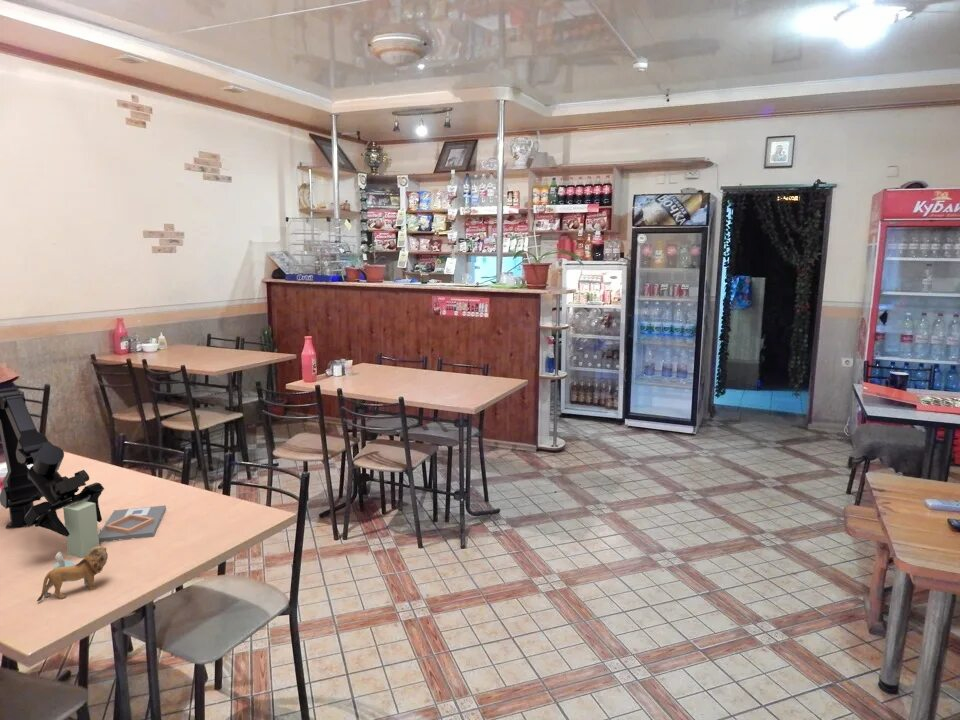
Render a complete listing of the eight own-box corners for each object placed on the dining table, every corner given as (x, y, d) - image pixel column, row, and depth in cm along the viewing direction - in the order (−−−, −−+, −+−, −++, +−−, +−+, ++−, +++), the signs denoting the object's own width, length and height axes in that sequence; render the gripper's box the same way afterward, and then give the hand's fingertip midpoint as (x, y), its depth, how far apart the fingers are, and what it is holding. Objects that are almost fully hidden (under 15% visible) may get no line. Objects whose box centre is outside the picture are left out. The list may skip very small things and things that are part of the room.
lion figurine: (105, 575, 151) (102, 540, 149) (113, 583, 147) (110, 547, 146) (33, 599, 140) (29, 562, 138) (40, 608, 136) (36, 570, 135)
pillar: (68, 554, 161) (63, 507, 158) (85, 546, 165) (81, 500, 163) (82, 558, 159) (77, 510, 157) (99, 549, 164) (95, 503, 162)
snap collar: (105, 529, 173) (104, 525, 172) (131, 517, 181) (130, 513, 180) (129, 534, 170) (128, 530, 170) (154, 522, 178) (154, 518, 178)
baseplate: (114, 514, 186) (114, 509, 186) (166, 509, 190) (165, 504, 190) (96, 542, 167) (95, 537, 167) (153, 536, 172) (153, 531, 171)
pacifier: (81, 565, 156) (52, 571, 152) (80, 542, 155) (51, 547, 151) (83, 578, 150) (53, 584, 146) (82, 554, 149) (52, 559, 145)
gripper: (27, 475, 151) (65, 525, 149) (96, 453, 168) (130, 497, 167) (8, 502, 154) (44, 550, 153) (77, 477, 172) (110, 520, 170)
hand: (84, 528), depth 161 cm, fingers open, 9 cm apart
